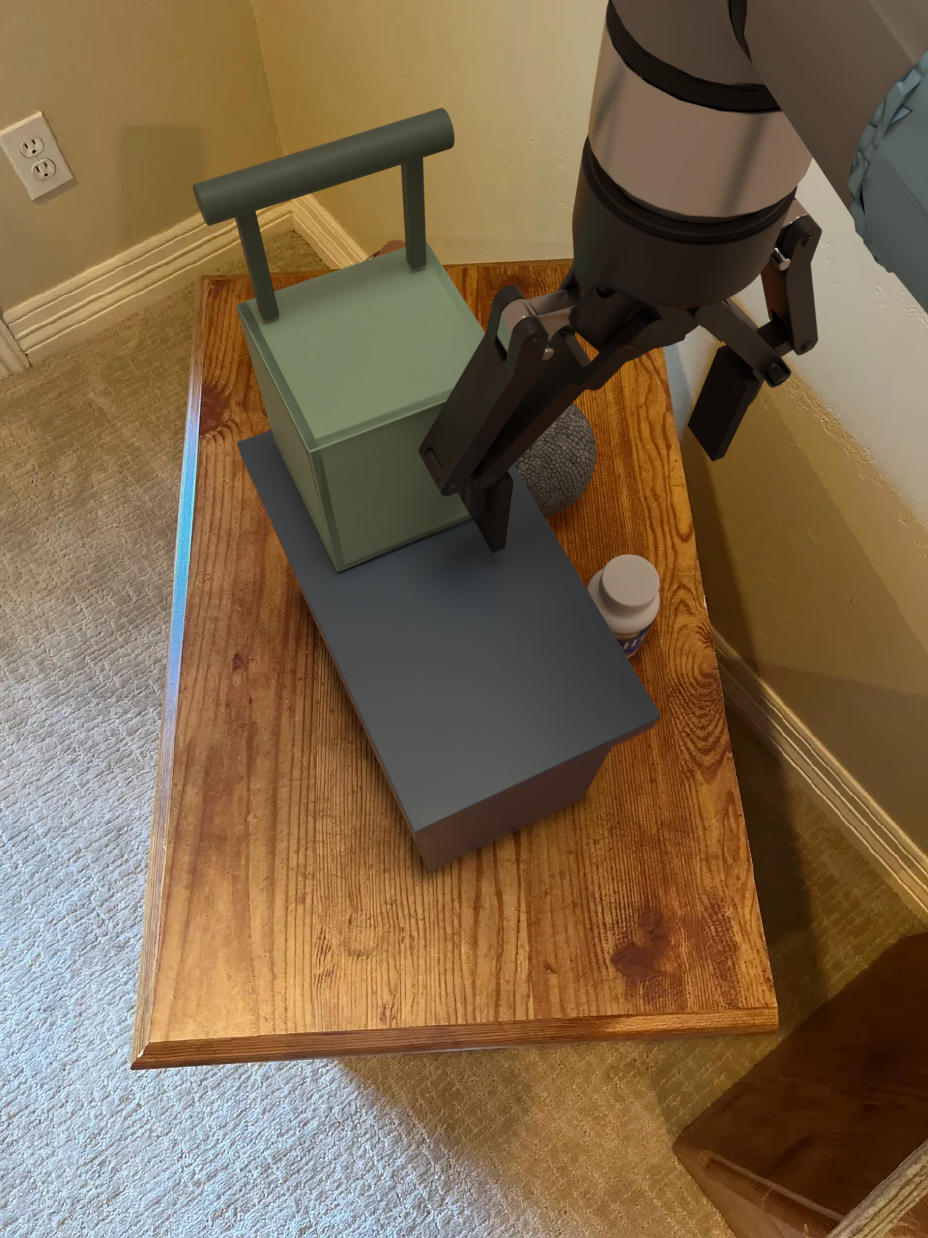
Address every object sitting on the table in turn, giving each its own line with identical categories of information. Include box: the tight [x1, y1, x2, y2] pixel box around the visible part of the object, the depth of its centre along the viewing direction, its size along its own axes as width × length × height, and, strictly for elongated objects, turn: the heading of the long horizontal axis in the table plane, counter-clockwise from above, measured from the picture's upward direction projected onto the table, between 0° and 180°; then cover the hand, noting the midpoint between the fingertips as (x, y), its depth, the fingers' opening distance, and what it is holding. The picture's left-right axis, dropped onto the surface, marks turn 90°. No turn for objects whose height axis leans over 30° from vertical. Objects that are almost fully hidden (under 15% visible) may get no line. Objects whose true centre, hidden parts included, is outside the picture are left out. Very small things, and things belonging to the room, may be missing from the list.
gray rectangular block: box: [236, 429, 662, 874], centre depth 61 cm, size 25×14×20 cm, turn 26°
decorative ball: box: [514, 402, 597, 519], centre depth 73 cm, size 10×10×10 cm
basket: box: [192, 107, 486, 572], centre depth 46 cm, size 19×11×10 cm
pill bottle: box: [586, 553, 661, 659], centre depth 68 cm, size 5×5×9 cm
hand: (599, 485), depth 52 cm, fingers open, 13 cm apart
